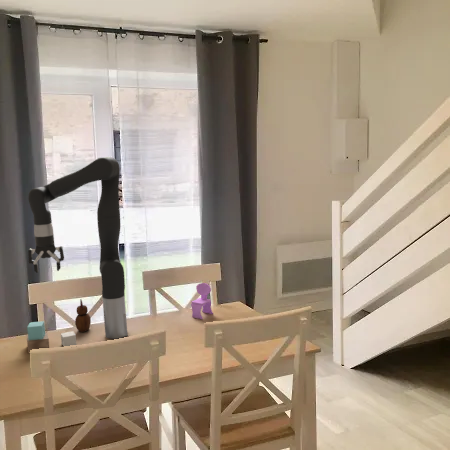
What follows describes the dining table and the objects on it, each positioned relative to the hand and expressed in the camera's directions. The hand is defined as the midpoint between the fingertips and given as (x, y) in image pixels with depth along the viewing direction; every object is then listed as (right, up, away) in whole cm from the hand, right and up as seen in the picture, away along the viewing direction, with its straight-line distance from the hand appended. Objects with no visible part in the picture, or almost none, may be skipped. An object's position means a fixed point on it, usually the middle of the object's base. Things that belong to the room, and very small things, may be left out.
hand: (47, 271), depth 224 cm
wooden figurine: (+14, -27, +6) cm, 31 cm away
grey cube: (+12, -29, -11) cm, 34 cm away
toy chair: (+65, -22, +19) cm, 72 cm away
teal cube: (0, -25, -13) cm, 28 cm away
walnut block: (0, -30, -12) cm, 32 cm away
